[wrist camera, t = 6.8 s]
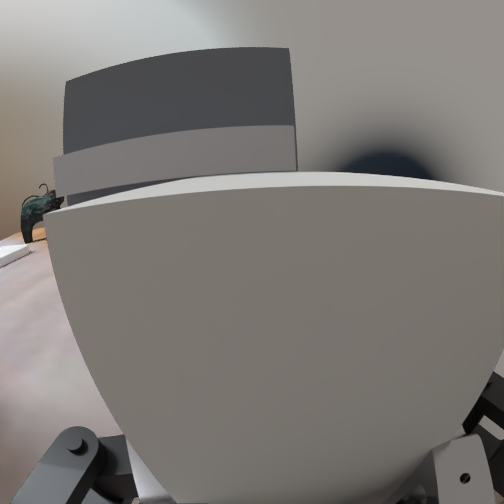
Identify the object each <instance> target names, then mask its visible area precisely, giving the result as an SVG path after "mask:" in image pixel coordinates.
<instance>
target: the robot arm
mask: <svg viewBox="0 0 504 504" xmlns="http://www.w3.org/2000/svg"><path fill="white" fill-rule="evenodd" d="M484 415H485V416H487V417H488V418H489V419H491V420H492V421H493V422H494V423H496V424H497V425H498V426H500V427H501V428H502V429H504V378H503V377H501V376H500V375H498V374H497V373H495V372H494V371H493V372H492V374H491V376H490V378H489V380H488V382H487V384H486V386H485V387H484V389H483V391H482V393H481V395H480V396H479V398H478V400H477V401H476V403H475V405H474V406H473V408H472V409H471V411H470V413H469V414H468V416H467V417H466V419H465V420H464V422H463V423H462V425H461V426H460V428H459V429H458V430H457V432H456V433H455V435H454V436H453V437H452V439H451V440H449V441H447V442H444V443H442V444H440V445H438V446H436V447H434V448H432V449H431V450H430V452H429V453H428V454H427V456H426V457H425V458H424V459H423V461H422V462H421V463H420V464H419V465H418V467H417V468H416V469H415V470H414V471H413V472H412V474H411V475H410V476H409V477H408V478H407V479H406V480H405V481H404V482H403V483H402V484H401V486H400V487H399V488H398V489H397V490H396V491H395V492H394V493H393V494H392V495H391V496H390V497H389V498H388V499H387V500H386V501H385V502H383V503H382V504H496V501H495V495H494V490H495V491H497V492H498V493H499V494H500V495H501V496H502V497H503V498H504V440H499V439H497V438H496V437H494V436H493V435H492V434H491V433H489V432H488V431H487V430H485V429H484V428H483V427H482V426H480V425H479V424H478V423H479V422H480V420H481V419H482V417H483V416H484ZM136 497H139V500H140V504H208V503H176V501H175V500H174V499H173V498H172V497H171V496H170V495H169V494H168V492H167V491H166V490H165V489H164V488H163V487H162V485H161V484H160V483H159V482H158V481H157V479H156V478H155V477H154V476H153V474H152V473H151V472H150V471H149V469H148V468H147V467H146V465H145V464H144V463H143V461H142V460H141V458H140V457H139V456H138V454H137V453H136V451H135V450H134V449H133V447H132V446H131V444H130V443H129V441H128V440H127V438H126V437H125V435H124V434H123V435H118V436H111V437H103V438H97V436H96V435H95V434H94V433H93V432H92V431H91V430H89V429H88V428H85V427H79V426H77V427H71V428H68V429H66V430H64V431H63V432H62V433H61V434H60V435H59V436H58V437H57V438H56V440H55V441H54V442H53V444H52V445H51V446H50V448H49V449H48V450H47V452H46V453H45V454H44V456H43V457H42V458H41V460H40V461H39V463H38V464H37V465H36V467H35V468H34V469H33V471H32V472H31V474H30V475H29V476H28V478H27V479H26V481H25V482H24V484H23V485H22V486H21V488H20V489H19V491H18V492H17V494H16V495H15V497H14V498H13V499H12V501H11V502H10V504H131V503H132V501H133V499H134V498H136ZM500 504H504V500H502V501H501V503H500Z"/></svg>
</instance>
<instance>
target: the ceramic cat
mask: <svg viewBox="0 0 504 504" xmlns="http://www.w3.org/2000/svg"><path fill="white" fill-rule="evenodd" d="M42 185H46V184H41V185H40V187H41V186H42ZM46 186H47V185H46ZM40 187H39V188H40ZM44 196H46V197H44ZM44 196H35V197H37V198H34V199H32V200H30V201H28V202H27V203H26V204H25V205H24V207H23V205H22V212H21V231H22V235H23V238H24V242H25V244H26V243H30V242H32V241H33V239H32V229H33V226H34V225H35V224H36V223H37V222H40V221H44V220H43V214H46V213H49V212H52V211H56V210H59V209H61V208H60V205H61V204H62V203H63V201H64V196H62V197H58V198H56V191H55V190H51V191H50V190H48V188H47V194H45V195H44ZM30 197H33V196H30ZM30 197H28V198H27V199H29V198H30ZM27 199H25V200H24V202H23V204H24V203H25V201H26V200H27Z"/></svg>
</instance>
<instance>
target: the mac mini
mask: <svg viewBox="0 0 504 504" xmlns="http://www.w3.org/2000/svg"><path fill="white" fill-rule="evenodd" d="M28 253H30V252H29V247H28V245H27V244H25V245H12V246H3V247H0V267H2V266H4V265H6V264H8V263H10V262H12V261H14V260H16V259H18V258H20V257H23V256H25V255H27V254H28Z"/></svg>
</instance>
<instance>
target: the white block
mask: <svg viewBox="0 0 504 504" xmlns="http://www.w3.org/2000/svg"><path fill="white" fill-rule="evenodd" d="M43 220H44V227H45V233H46V238H47V243H48V248H49V253H50V257H51V262H52V266H53V270H54V274H55V278H56V282H57V285H58V289H59V292H60V296H61V299H62V302H63V305H64V308H65V311H66V314H67V317H68V320H69V323H70V326H71V328H72V331H73V334H74V336H75V339H76V341H77V344H78V346H79V349H80V351H81V354H82V356H83V358H84V361H85V363H86V365H87V367H88V369H89V372H90V374H91V376H92V378H93V380H94V382H95V384H96V386H97V388H98V390H99V392H100V394H101V396H102V398H103V399H104V401H105V403H106V405H107V407H108V409H109V410H110V412H111V414H112V415H113V417H114V419H115V421H116V422H117V424H118V425H119V427H120V429H121V430H122V432H123V433H124V435H125V437H126V438H127V440H128V441H129V443H130V444H131V446H132V447H133V449H134V450H135V451H136V453H137V454H138V456H139V457H140V458H141V460H142V461H143V463H144V464H145V465H146V467H147V468H148V469H149V471H150V472H151V473H152V474H153V476H154V477H155V478H156V479H157V481H158V482H159V483H160V484H161V485H162V487H163V488H164V489H165V490H166V491H167V492H168V494H169V495H170V496H171V497H172V498H173V499H174V500H175V501H176V503H208V504H382V503H383V502H385V501H386V500H387V499H388V498H389V497H390V496H391V495H392V494H393V493H394V492H395V491H396V490H397V489H398V488H399V487H400V486H401V484H402V483H403V482H404V481H405V480H406V479H407V478H408V477H409V476H410V475H411V474H412V472H413V471H414V470H415V469H416V468H417V467H418V465H419V464H420V463H421V462H422V461H423V459H424V458H425V457H426V456H427V454H428V453H429V452H430V450H431V449H432V448H434V447H436V446H438V445H440V444H442V443H444V442H447V441H449V440H451V439H452V437H453V436H454V435H455V433H456V432H457V430H458V429H459V428H460V426H461V425H462V423H463V422H464V420H465V419H466V417H467V416H468V414H469V413H470V411H471V409H472V408H473V406H474V405H475V403H476V401H477V400H478V398H479V396H480V395H481V393H482V391H483V389H484V387H485V386H486V384H487V382H488V380H489V378H490V376H491V374H492V372H493V370H494V368H495V366H496V364H497V362H498V360H499V357H500V356H501V353H502V351H503V349H504V193H501V192H497V191H492V190H487V189H482V188H476V187H471V186H465V185H459V184H452V183H446V182H439V181H432V180H424V179H416V178H407V177H397V176H386V175H373V174H358V173H341V172H313V171H312V172H311V171H301V172H300V171H294V172H261V173H242V174H226V175H213V176H201V177H194V178H188V179H183V180H178V181H172V182H167V183H162V184H157V185H152V186H148V187H143V188H139V189H134V190H130V191H126V192H121V193H117V194H113V195H109V196H105V197H101V198H97V199H94V200H90V201H86V202H83V203H79V204H76V205H72V206H69V207H65V208H62V209H59V210H56V211H52V212H49V213H46V214H43Z"/></svg>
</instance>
